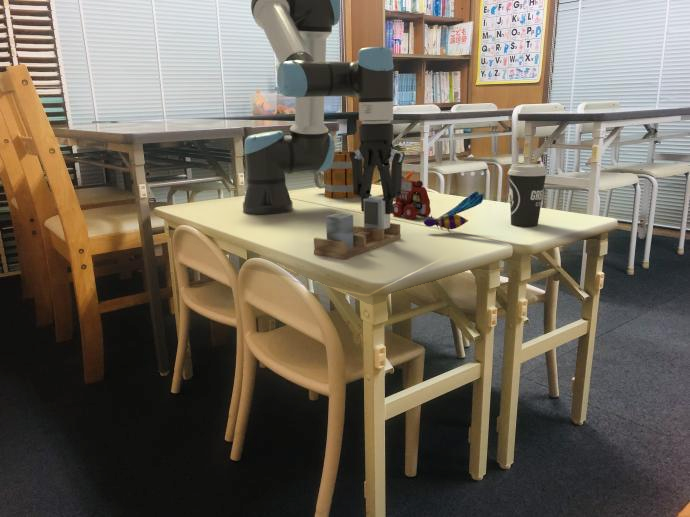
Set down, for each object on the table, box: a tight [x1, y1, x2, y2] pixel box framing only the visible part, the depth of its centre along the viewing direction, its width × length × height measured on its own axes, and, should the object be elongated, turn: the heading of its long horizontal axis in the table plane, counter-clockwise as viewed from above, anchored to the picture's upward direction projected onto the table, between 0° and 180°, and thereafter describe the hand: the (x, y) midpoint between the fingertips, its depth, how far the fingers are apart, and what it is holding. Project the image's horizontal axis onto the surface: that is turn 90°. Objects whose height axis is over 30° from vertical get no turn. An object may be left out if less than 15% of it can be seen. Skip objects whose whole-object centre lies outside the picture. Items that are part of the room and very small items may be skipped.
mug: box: [313, 150, 361, 199], centre depth 191 cm, size 20×14×15 cm
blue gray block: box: [363, 196, 387, 229], centre depth 125 cm, size 4×5×7 cm
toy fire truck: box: [391, 179, 432, 220], centre depth 152 cm, size 7×12×10 cm, turn 37°
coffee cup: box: [507, 163, 549, 228], centre depth 137 cm, size 10×10×15 cm
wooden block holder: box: [313, 212, 402, 260], centre depth 121 cm, size 8×22×8 cm, turn 143°
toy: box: [423, 190, 485, 233], centre depth 130 cm, size 7×14×10 cm, turn 95°
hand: (377, 226), depth 126 cm, fingers closed on blue gray block, 4 cm apart
